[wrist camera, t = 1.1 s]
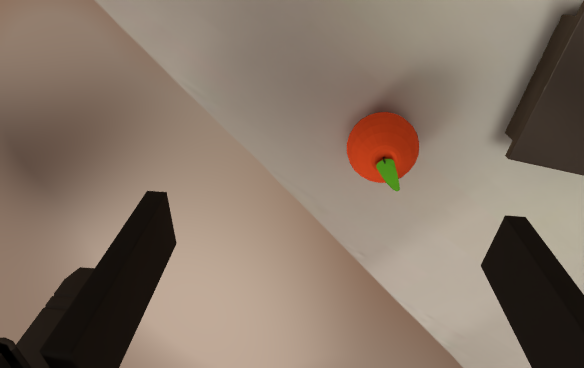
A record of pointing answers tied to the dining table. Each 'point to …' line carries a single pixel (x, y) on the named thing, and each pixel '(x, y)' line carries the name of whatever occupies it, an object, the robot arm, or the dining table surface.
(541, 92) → the stand
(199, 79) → the dining table surface
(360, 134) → the clementine
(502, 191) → the dining table surface
